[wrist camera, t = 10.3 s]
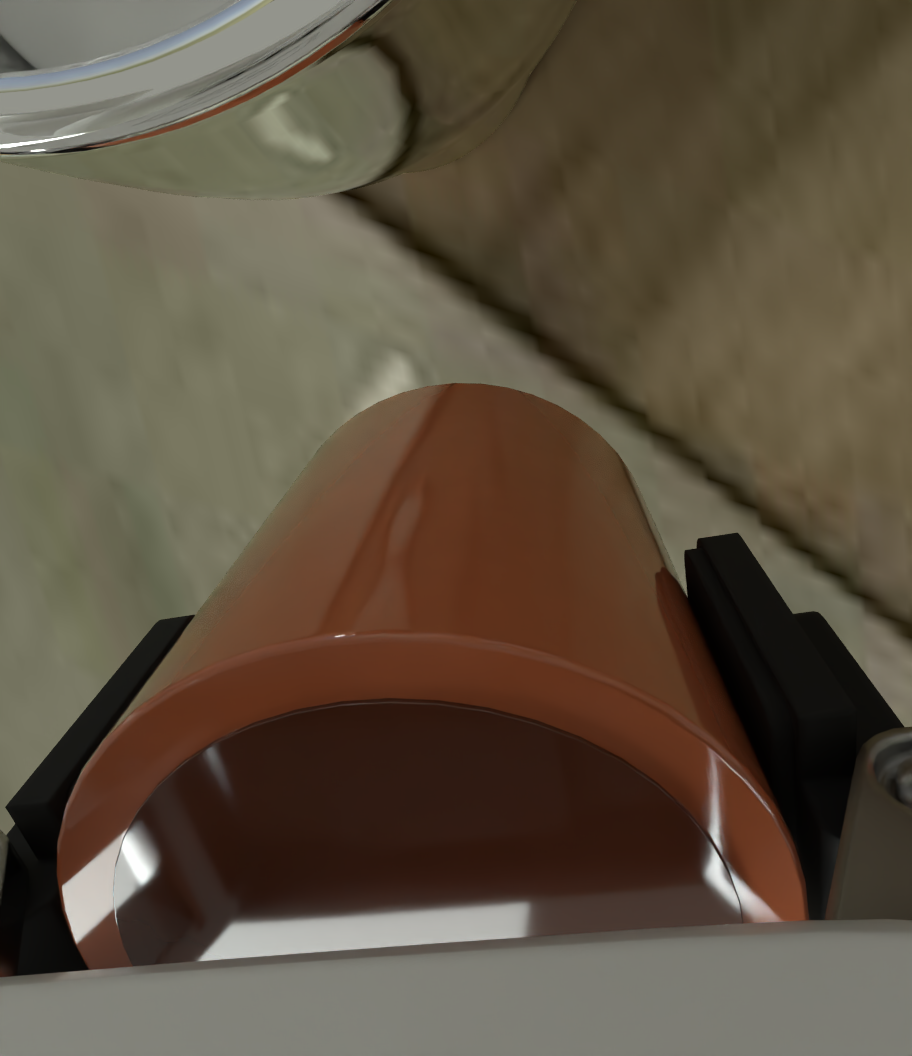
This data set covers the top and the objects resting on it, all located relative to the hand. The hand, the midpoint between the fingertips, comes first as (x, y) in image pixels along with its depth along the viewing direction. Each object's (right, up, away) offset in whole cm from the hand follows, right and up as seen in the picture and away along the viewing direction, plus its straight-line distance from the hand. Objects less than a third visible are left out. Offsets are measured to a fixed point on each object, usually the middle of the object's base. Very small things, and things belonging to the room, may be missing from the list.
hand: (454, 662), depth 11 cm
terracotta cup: (0, +1, +3) cm, 3 cm away
